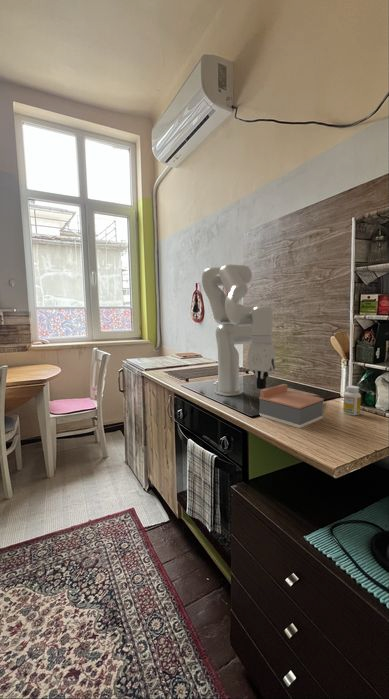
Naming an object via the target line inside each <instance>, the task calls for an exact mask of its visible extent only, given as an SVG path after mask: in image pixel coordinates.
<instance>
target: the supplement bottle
mask: <svg viewBox="0 0 389 699" xmlns="http://www.w3.org/2000/svg"><path fill="white" fill-rule="evenodd" d="M359 391H360V386H356V385H347V386H346V391H345V392H344V393H343V410H342V411H343V413H344V414H345V415H348V416H349V415H350V416H359V415H360V413H361V399H362V395H361V393H360V392H359Z"/></svg>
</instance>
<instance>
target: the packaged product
mask: <svg viewBox="0 0 389 699" xmlns="http://www.w3.org/2000/svg"><path fill="white" fill-rule="evenodd" d="M287 391H290V392H295V393H300V394H304V395H309V396H314V397H318V398H321V397H320V395H319V394H315V393H312V392H306V391H303V390H298V389H294V388H291V387H287ZM324 405H326V401H323V406H324Z"/></svg>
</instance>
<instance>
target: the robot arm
mask: <svg viewBox="0 0 389 699" xmlns="http://www.w3.org/2000/svg"><path fill="white" fill-rule="evenodd" d="M201 275H202V276H201V285H202V289H203V291H204V293H205V295H206V297H207V299H208V301H209V305H210V308H211V312H212V316H213V319H214V320H215V322H216V323H217V324H219V325H218V326H217V327H216V330H215V340H216V344H217V370H218V371H217V380H215V382H213V386H215V387H216V388H215V389H214V393H215V394H216V395H218V396H225V397H230V396H231V397H234V396H239V395H242V394H243V389H241V388H240V354H239V351H238V350H237V348H236V345H247V344H249V347H248V349H247V350H248V351H247V360H246V362H247V363H246V364H247V368H248V369H249V372H251V373H253V374H254V376H255V378H256V389H257V390H258V389H259V390H262V389H266V388H267V387H266V386H267V385H266V384H267V378H268V377H269V376H272V375H274V374H275V369H276V353H275V347H274V346H275V344H273V319H274V318H273V314H274V312H273V308H272V307H270V306H245V305H244V304H241V303H236V302H237V301H240V300H241V299H243V298H244V297H245V296H246V295H247V294H248V285H249V283H250V282H251V280H252V277H253V275H252V270H251V268H250V267H249V266H248V265H245V264H229V263H228V264H225V265H223V266H221V267H219V266H218V267H216V266H214V267H213V266H212V267H209V268H205V269H204V270H203V272H202V274H201ZM219 286H220V287H224V289H225V291H226V293H227V294H226V293H225V292H224V291H223V289H222V288H220V287H219Z"/></svg>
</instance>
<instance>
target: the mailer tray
mask: <svg viewBox="0 0 389 699" xmlns="http://www.w3.org/2000/svg"><path fill="white" fill-rule="evenodd" d="M323 402H324V400H323V401H320V402H318V403H315V404H312V405H309V406H306V407H304V408H301V409H298V408H294V407H290V406H286V405H282V404H278V403H274V402H270V401H267V400H263V399H259V409H258V410H259V413H258V414H259V415H260V416H259V415H258V416H259V417H262V418H266V419H269V420H272V421H275V422H277V423H278V422H279V423H282V424H285V425H289V426H291V427H295V428H299V429H301V428H304V427H306V426H308V425H310V424H313V423H315V422H317V421H320V420H323V415H324V414H323V412H324V411H323V410H324V405H323Z"/></svg>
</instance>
